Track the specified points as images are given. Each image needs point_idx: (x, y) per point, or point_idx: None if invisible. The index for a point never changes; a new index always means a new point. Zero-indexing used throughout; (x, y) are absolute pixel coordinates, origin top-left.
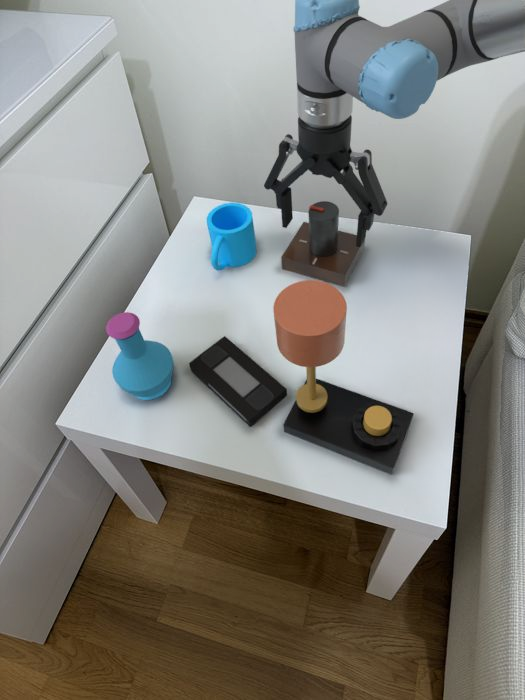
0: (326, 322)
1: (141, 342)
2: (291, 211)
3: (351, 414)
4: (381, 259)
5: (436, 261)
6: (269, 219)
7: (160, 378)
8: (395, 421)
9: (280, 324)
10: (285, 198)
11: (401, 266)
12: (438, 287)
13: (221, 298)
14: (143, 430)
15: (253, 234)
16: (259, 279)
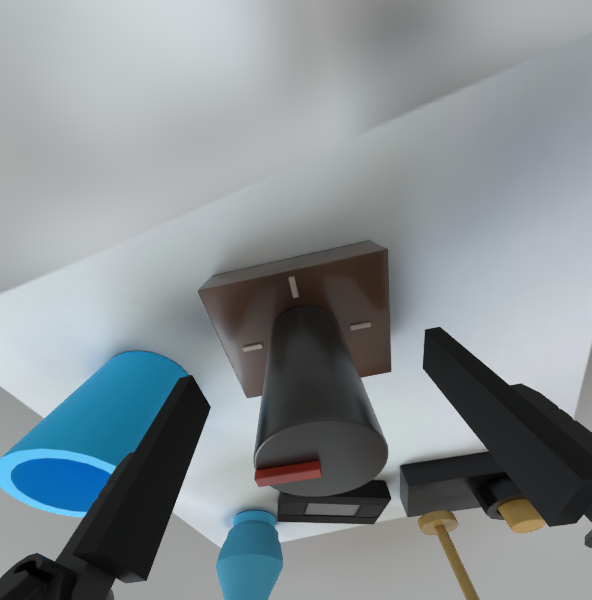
0: None
1: None
2: (179, 407)
3: (472, 490)
4: (421, 245)
5: (564, 170)
6: (104, 279)
7: (280, 570)
8: None
9: None
10: (148, 558)
11: (473, 239)
12: (566, 251)
13: (222, 445)
14: (288, 535)
15: (154, 416)
16: (238, 402)
